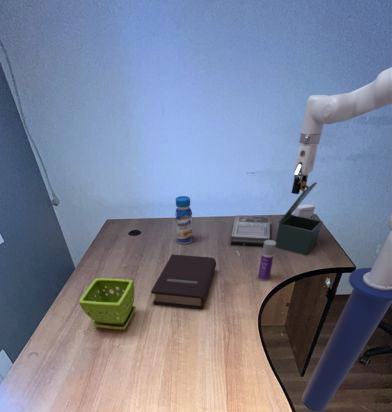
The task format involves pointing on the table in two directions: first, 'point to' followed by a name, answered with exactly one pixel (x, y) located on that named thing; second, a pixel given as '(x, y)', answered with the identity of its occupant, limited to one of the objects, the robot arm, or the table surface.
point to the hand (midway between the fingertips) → (298, 191)
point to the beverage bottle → (184, 220)
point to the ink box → (304, 211)
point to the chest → (298, 234)
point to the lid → (299, 200)
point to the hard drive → (250, 231)
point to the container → (267, 259)
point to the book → (184, 282)
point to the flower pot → (109, 303)
